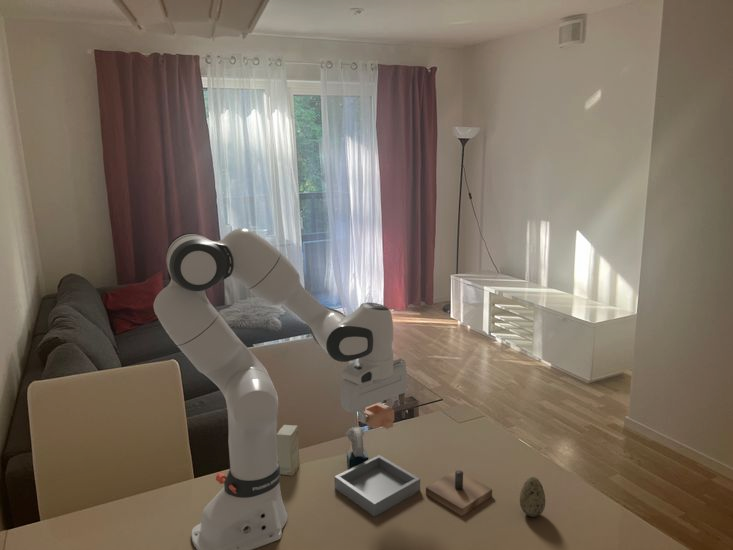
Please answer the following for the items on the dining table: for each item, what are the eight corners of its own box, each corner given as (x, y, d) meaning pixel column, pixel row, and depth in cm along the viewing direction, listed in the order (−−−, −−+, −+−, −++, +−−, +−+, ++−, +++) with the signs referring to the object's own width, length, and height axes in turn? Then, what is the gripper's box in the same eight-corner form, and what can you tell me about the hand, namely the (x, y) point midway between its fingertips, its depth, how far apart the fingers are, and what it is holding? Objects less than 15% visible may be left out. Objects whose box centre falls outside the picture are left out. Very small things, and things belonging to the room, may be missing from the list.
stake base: (461, 516, 132) (462, 492, 130) (425, 494, 140) (425, 471, 139) (492, 496, 139) (492, 473, 138) (455, 476, 148) (456, 454, 147)
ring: (380, 431, 133) (380, 420, 132) (357, 419, 139) (357, 409, 138) (399, 423, 137) (399, 412, 136) (377, 412, 143) (377, 401, 143)
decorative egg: (513, 511, 133) (515, 474, 131) (533, 504, 135) (535, 468, 133) (530, 525, 128) (532, 487, 126) (549, 518, 130) (552, 481, 128)
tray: (374, 516, 132) (374, 504, 131) (334, 488, 144) (334, 476, 143) (420, 490, 142) (420, 478, 141) (379, 466, 154) (379, 454, 153)
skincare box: (293, 476, 150) (291, 435, 147) (277, 474, 150) (275, 434, 148) (300, 464, 156) (298, 425, 153) (285, 462, 156) (283, 423, 154)
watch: (364, 455, 159) (363, 421, 157) (369, 470, 152) (369, 434, 149) (345, 458, 158) (344, 423, 156) (350, 473, 151) (349, 436, 148)
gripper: (396, 353, 145) (396, 401, 147) (336, 372, 132) (337, 425, 134) (413, 359, 140) (413, 409, 143) (352, 380, 127) (353, 434, 130)
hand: (376, 417), depth 138 cm, fingers closed on ring, 7 cm apart
